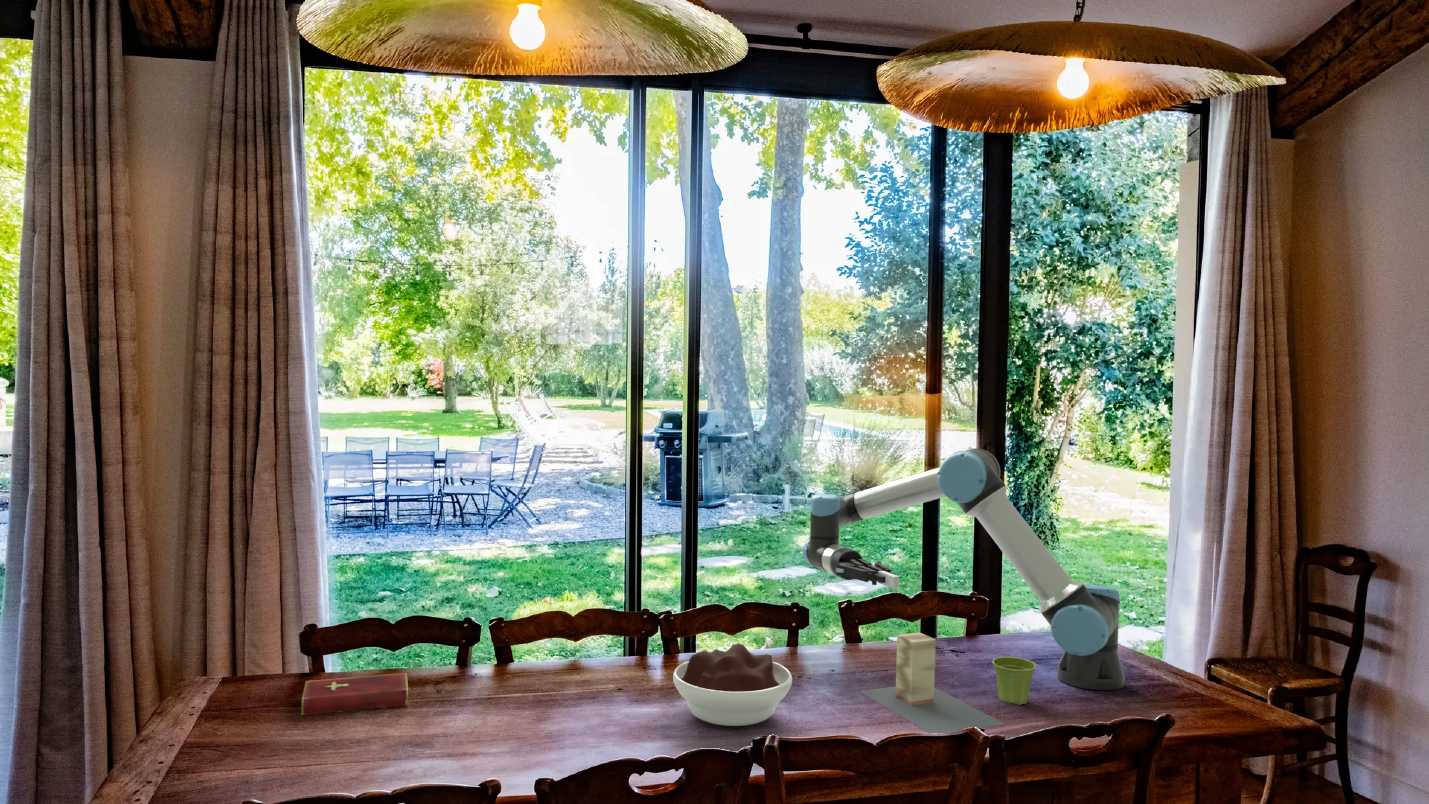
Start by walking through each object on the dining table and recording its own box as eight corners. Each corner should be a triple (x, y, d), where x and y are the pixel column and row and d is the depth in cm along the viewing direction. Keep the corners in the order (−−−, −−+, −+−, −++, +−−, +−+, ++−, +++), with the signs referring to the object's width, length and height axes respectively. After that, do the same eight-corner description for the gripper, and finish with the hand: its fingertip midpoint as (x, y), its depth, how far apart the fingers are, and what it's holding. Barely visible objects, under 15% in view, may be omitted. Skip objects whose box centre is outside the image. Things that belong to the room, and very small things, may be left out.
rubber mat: (858, 693, 222) (858, 691, 221) (924, 684, 229) (924, 682, 229) (932, 738, 196) (933, 735, 196) (1004, 726, 203) (1004, 723, 203)
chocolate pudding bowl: (796, 741, 193) (798, 666, 192) (669, 739, 192) (671, 663, 192) (786, 698, 218) (787, 631, 217) (674, 696, 217) (675, 629, 217)
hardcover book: (408, 708, 208) (408, 688, 207) (301, 718, 201) (301, 698, 201) (406, 690, 219) (406, 671, 219) (305, 698, 212) (305, 679, 212)
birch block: (895, 696, 218) (897, 634, 218) (917, 693, 221) (919, 632, 220) (911, 705, 213) (912, 642, 212) (933, 702, 215) (935, 639, 214)
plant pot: (1037, 710, 213) (1038, 671, 213) (992, 706, 215) (994, 667, 215) (1032, 696, 222) (1033, 658, 222) (989, 692, 224) (990, 655, 224)
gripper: (864, 575, 248) (919, 596, 226) (820, 578, 243) (871, 600, 221) (865, 546, 247) (920, 564, 226) (820, 549, 242) (872, 568, 221)
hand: (896, 582), depth 223 cm, fingers closed
